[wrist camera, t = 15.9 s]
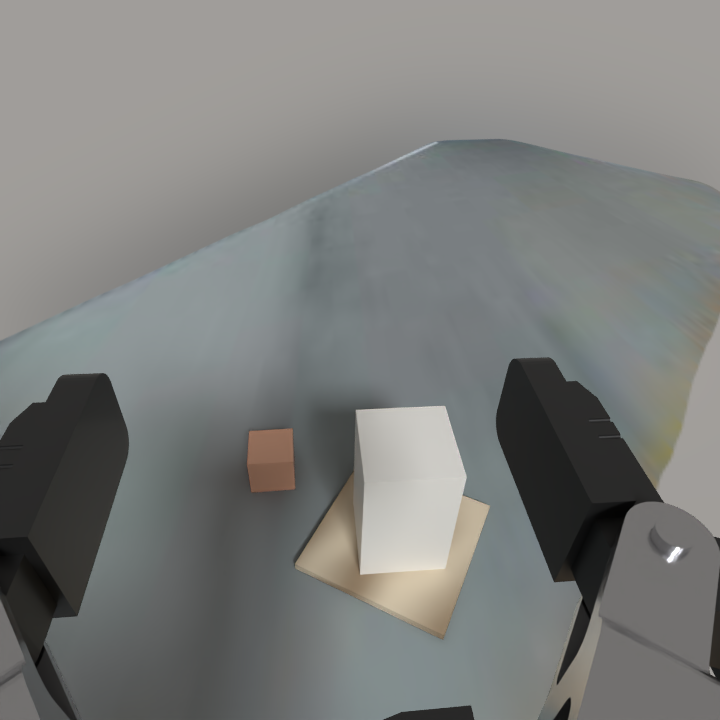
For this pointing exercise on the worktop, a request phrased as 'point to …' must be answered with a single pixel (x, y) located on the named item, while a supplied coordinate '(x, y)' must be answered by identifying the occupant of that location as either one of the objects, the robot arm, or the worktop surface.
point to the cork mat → (396, 589)
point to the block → (271, 460)
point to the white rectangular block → (405, 488)
